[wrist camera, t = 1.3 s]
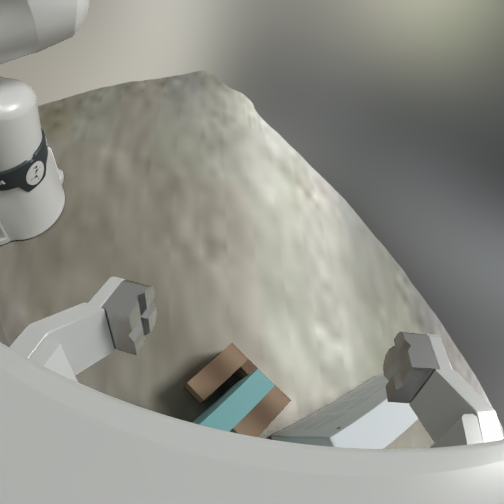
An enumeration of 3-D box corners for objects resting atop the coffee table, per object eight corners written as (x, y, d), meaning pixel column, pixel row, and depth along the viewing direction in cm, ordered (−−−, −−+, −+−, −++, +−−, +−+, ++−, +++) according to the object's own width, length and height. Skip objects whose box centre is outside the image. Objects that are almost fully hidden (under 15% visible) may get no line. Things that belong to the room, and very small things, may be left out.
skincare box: (284, 467, 36) (346, 477, 23) (268, 435, 38) (325, 433, 25) (388, 401, 45) (459, 379, 32) (375, 375, 47) (444, 345, 34)
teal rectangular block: (192, 446, 34) (206, 452, 25) (179, 433, 35) (187, 434, 25) (244, 398, 40) (275, 385, 30) (232, 385, 41) (258, 368, 31)
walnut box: (242, 443, 36) (250, 443, 33) (184, 386, 39) (186, 382, 35) (280, 403, 41) (291, 400, 38) (225, 350, 43) (232, 342, 40)
